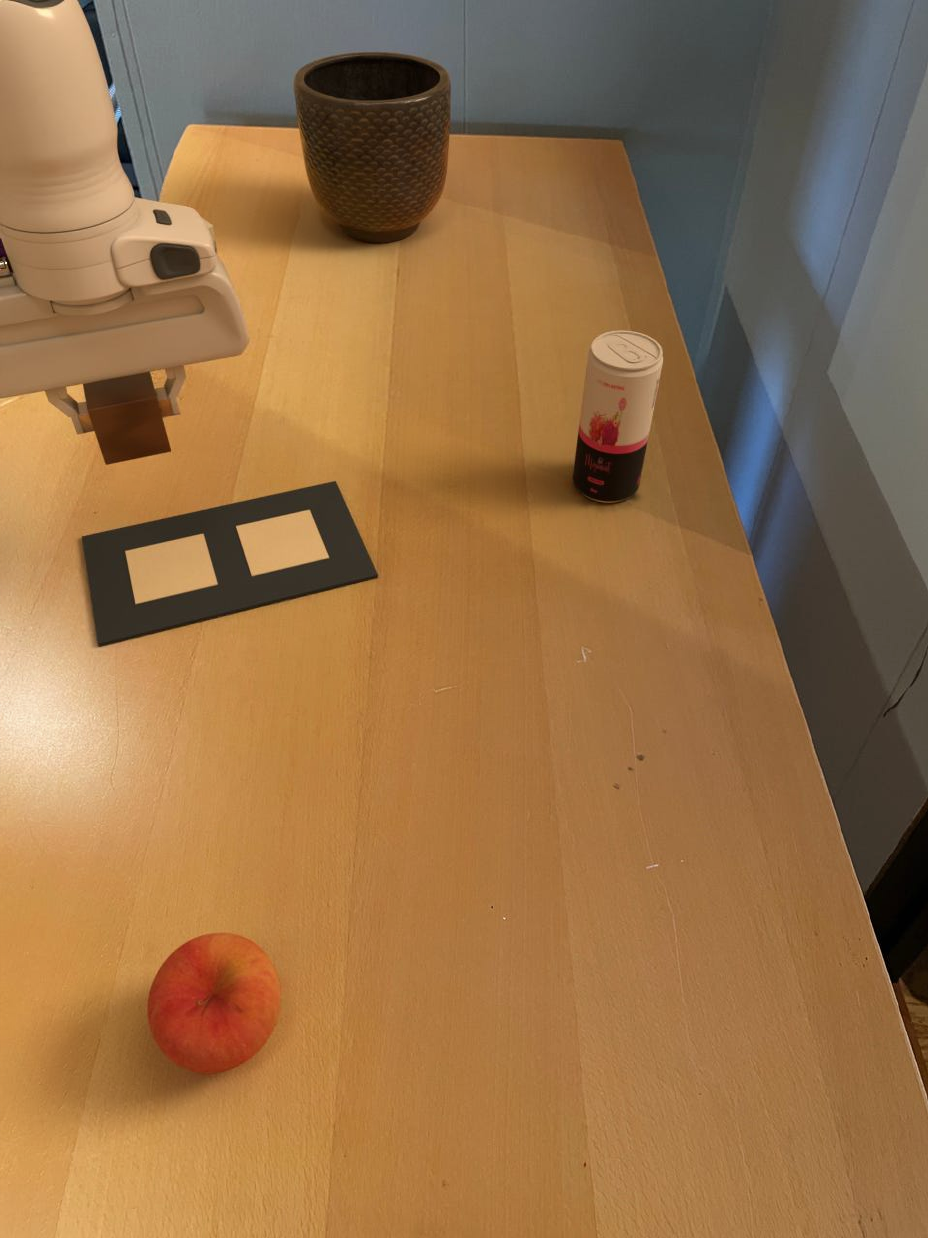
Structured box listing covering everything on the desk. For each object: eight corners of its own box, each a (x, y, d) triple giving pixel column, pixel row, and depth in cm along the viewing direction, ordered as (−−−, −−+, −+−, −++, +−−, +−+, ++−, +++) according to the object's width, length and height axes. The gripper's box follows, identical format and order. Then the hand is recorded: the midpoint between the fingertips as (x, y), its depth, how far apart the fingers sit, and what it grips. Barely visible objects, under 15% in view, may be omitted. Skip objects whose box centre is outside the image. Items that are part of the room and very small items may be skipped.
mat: (99, 647, 77) (97, 643, 77) (82, 539, 86) (81, 535, 85) (378, 577, 83) (377, 573, 83) (335, 483, 92) (335, 479, 92)
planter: (460, 202, 137) (461, 55, 123) (437, 264, 123) (436, 108, 109) (328, 191, 138) (315, 46, 124) (292, 252, 125) (273, 97, 111)
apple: (287, 960, 59) (270, 902, 53) (290, 1082, 54) (272, 1033, 48) (169, 977, 58) (138, 919, 53) (161, 1103, 53) (126, 1055, 48)
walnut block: (105, 465, 72) (87, 410, 68) (98, 429, 75) (80, 374, 71) (171, 452, 73) (157, 397, 69) (162, 416, 76) (147, 362, 73)
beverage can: (598, 513, 89) (619, 377, 78) (559, 476, 93) (574, 341, 82) (652, 492, 92) (680, 356, 81) (611, 456, 96) (633, 322, 85)
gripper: (-92, 294, 58) (-12, 472, 68) (236, 244, 63) (266, 416, 73) (-90, 250, 62) (-15, 424, 72) (219, 206, 67) (249, 374, 77)
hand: (129, 420), depth 73 cm, fingers closed on walnut block, 5 cm apart
